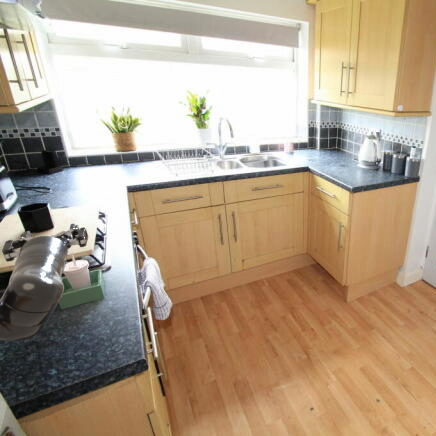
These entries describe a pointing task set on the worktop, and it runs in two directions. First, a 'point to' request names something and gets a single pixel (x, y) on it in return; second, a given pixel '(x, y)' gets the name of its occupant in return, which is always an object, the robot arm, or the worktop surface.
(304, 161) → the worktop surface
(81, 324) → the worktop surface
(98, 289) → the green open box
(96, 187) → the worktop surface
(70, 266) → the smoothie
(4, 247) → the robot arm
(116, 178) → the worktop surface
